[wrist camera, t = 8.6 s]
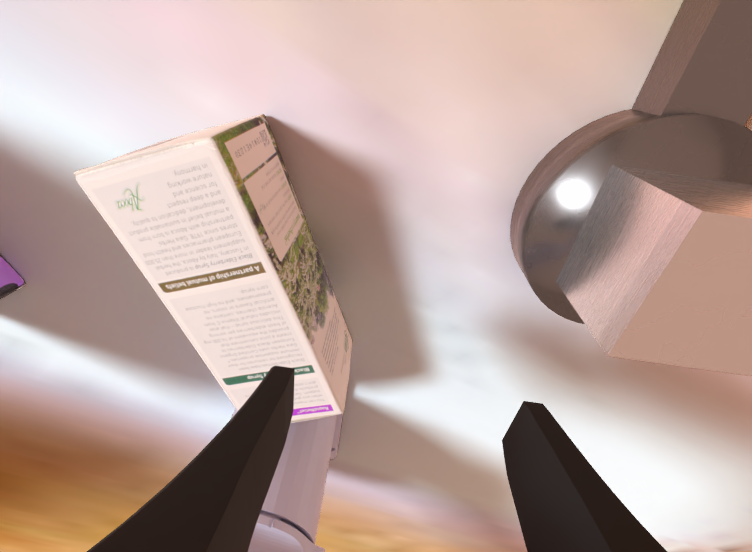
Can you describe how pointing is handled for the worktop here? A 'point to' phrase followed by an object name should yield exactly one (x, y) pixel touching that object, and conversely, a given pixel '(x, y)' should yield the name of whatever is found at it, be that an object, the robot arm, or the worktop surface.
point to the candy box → (9, 279)
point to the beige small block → (666, 270)
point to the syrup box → (231, 259)
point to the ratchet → (646, 138)
